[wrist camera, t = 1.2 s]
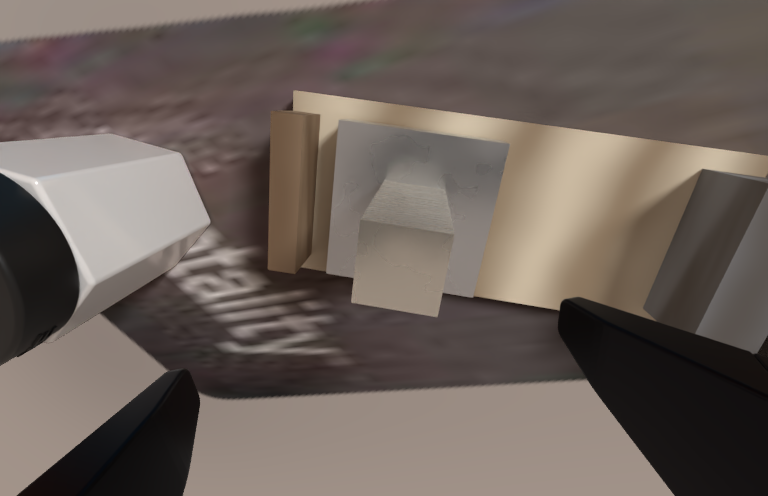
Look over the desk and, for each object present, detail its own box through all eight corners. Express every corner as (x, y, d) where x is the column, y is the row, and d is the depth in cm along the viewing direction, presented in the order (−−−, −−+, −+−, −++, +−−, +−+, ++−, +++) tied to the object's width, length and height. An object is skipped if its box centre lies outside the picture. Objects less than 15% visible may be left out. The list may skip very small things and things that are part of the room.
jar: (83, 241, 26) (-176, 341, 15) (78, 120, 23) (-249, 133, 12) (207, 276, 26) (40, 404, 15) (218, 160, 23) (19, 209, 12)
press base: (750, 153, 20) (863, 169, 15) (673, 318, 23) (742, 377, 18) (302, 91, 21) (262, 85, 16) (294, 255, 25) (259, 294, 20)
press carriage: (502, 140, 19) (559, 165, 11) (469, 281, 22) (494, 388, 14) (347, 118, 20) (286, 126, 11) (334, 259, 22) (278, 349, 14)
